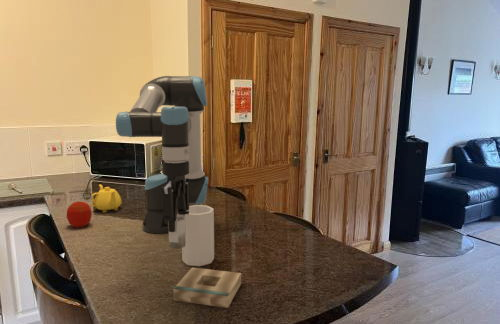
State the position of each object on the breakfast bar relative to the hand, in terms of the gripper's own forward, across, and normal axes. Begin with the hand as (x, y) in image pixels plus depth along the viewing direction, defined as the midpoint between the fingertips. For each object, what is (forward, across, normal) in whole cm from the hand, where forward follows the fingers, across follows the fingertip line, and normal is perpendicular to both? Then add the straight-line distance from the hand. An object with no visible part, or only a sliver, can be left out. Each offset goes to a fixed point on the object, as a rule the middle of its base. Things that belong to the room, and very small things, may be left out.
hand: (177, 238), depth 113 cm
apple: (+15, +38, +65) cm, 77 cm away
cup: (+15, +19, +2) cm, 25 cm away
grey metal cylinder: (+2, 0, 0) cm, 2 cm away
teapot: (+15, +62, +69) cm, 93 cm away
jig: (+15, 0, -10) cm, 18 cm away
